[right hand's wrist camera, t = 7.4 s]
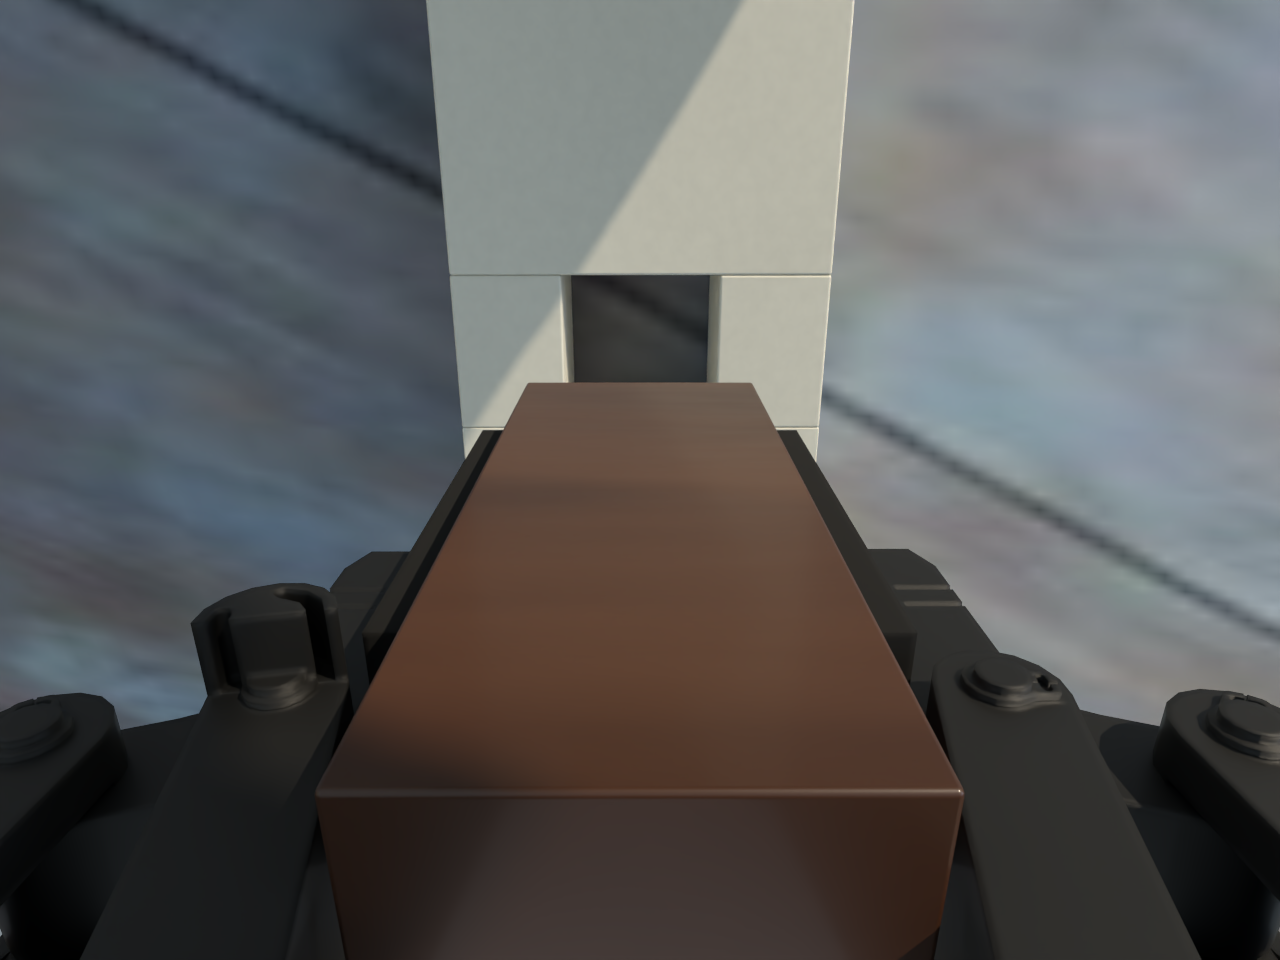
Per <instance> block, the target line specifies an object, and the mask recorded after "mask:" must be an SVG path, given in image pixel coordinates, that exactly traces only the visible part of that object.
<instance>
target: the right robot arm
mask: <svg viewBox="0 0 1280 960" xmlns="http://www.w3.org/2000/svg"><path fill="white" fill-rule="evenodd" d="M502 431H503V430H483V431H482V432H481V434H480V436H479V437H478V439H477V441H476V442H475V444H474V446H473V447H472V449H471V451H470V452H469V454H468V456H467V457H466V459H465V461H464V462H463V464H462V466H461V467H460V469H459V471H458V472H457V474H456V476H455V477H454V479H453V481H452V483H451V484H450V486H449V488H448V489H447V491H446V493H445V494H444V496H443V498H442V499H441V501H440V503H439V504H438V506H437V508H436V509H435V511H434V513H433V514H432V516H431V518H430V519H429V521H428V523H427V524H426V526H425V528H424V529H423V531H422V533H421V534H420V536H419V538H418V540H417V541H416V543H415V545H414V546H413V548H412V550H411V551H410V552H370V553H369V554H367V555H366V556H364V557H363V558H361V559H359V560H358V561H356V562H355V563H353V564H351V565H350V566H348V567H347V568H345V569H344V570H343V572H342V573H341V574H340V576H339V577H338V579H337V580H336V581H335V583H334V584H333V585H332V587H331V588H330V592H329V591H328V590H326V589H325V588H323V587H318V586H314V585H310V584H306V583H279V584H273V585H267V586H261V587H255V588H251V589H248V590H245V591H242V592H239V593H236V594H233V595H230V596H227V597H225V598H223V599H222V600H220V601H218V602H216V603H214V604H213V605H211V606H209V607H207V608H205V609H204V610H203V611H202V612H201V613H200V614H199V615H198V616H197V617H196V618H195V619H194V620H193V621H192V622H191V627H192V631H193V636H194V640H195V644H196V648H197V653H198V657H199V661H200V665H201V670H202V674H203V678H204V682H205V687H206V691H207V695H208V696H207V698H206V701H205V703H204V705H203V707H202V709H201V711H200V713H199V714H195V715H191V716H187V717H183V718H179V719H174V720H169V721H164V722H159V723H154V724H149V725H144V726H139V727H133V728H128V729H123V730H120V726H119V723H118V719H117V716H116V713H115V709H114V706H113V705H112V704H110V703H109V702H108V701H107V700H106V699H104V698H103V697H102V696H96V695H90V694H85V693H72V694H61V695H49V696H44V697H38V698H37V699H36V700H33V699H31V700H27V701H24V702H21V703H18V704H16V705H14V706H12V707H11V708H9V709H7V710H4V711H2V712H0V929H1V932H2V935H1V936H0V960H345V956H344V950H343V945H342V940H341V934H340V929H339V924H338V918H337V913H336V907H335V902H334V897H333V891H332V886H331V881H330V875H329V870H328V865H327V859H326V854H325V849H324V843H323V838H322V833H321V827H320V822H319V817H318V811H317V806H316V801H315V791H316V788H317V786H318V784H319V782H320V780H321V778H322V776H323V774H324V772H325V770H326V769H327V767H328V765H329V763H330V761H331V759H332V757H333V755H334V753H335V751H336V749H337V747H338V746H339V744H340V742H341V740H342V738H343V736H344V734H345V732H346V730H347V728H348V726H349V724H350V723H351V721H352V719H353V717H354V715H355V713H356V711H357V709H358V707H359V705H360V703H361V701H362V700H363V698H364V696H365V694H366V692H367V690H368V688H369V686H370V684H371V682H372V680H373V678H374V677H375V675H376V673H377V671H378V669H379V667H380V665H381V663H382V661H383V659H384V657H385V655H386V654H387V652H388V650H389V648H390V646H391V644H392V642H393V640H394V638H395V636H396V634H397V632H398V631H399V629H400V627H401V625H402V623H403V621H404V619H405V617H406V615H407V613H408V611H409V609H410V608H411V606H412V604H413V602H414V600H415V598H416V596H417V594H418V592H419V590H420V588H421V586H422V585H423V583H424V581H425V579H426V577H427V575H428V573H429V571H430V569H431V567H432V565H433V563H434V562H435V560H436V558H437V556H438V554H439V552H440V550H441V548H442V546H443V544H444V542H445V540H446V539H447V537H448V535H449V533H450V531H451V529H452V527H453V525H454V523H455V521H456V519H457V517H458V515H459V514H460V512H461V510H462V508H463V506H464V504H465V502H466V500H467V498H468V496H469V494H470V492H471V491H472V489H473V487H474V485H475V483H476V481H477V479H478V477H479V475H480V473H481V471H482V469H483V468H484V466H485V464H486V462H487V460H488V458H489V456H490V454H491V452H492V450H493V448H494V446H495V445H496V443H497V441H498V439H499V437H500V435H501V433H502ZM777 432H778V434H779V436H780V438H781V440H782V442H783V444H784V445H785V447H786V449H787V451H788V453H789V455H790V457H791V459H792V461H793V463H794V465H795V467H796V468H797V470H798V472H799V474H800V476H801V478H802V480H803V482H804V484H805V486H806V488H807V490H808V492H809V493H810V495H811V497H812V499H813V501H814V503H815V505H816V507H817V509H818V511H819V513H820V515H821V517H822V518H823V520H824V522H825V524H826V526H827V528H828V530H829V532H830V534H831V536H832V538H833V540H834V541H835V543H836V545H837V547H838V549H839V551H840V553H841V555H842V557H843V559H844V561H845V563H846V565H847V566H848V568H849V570H850V572H851V574H852V576H853V578H854V580H855V582H856V584H857V586H858V588H859V589H860V591H861V593H862V595H863V597H864V599H865V601H866V603H867V605H868V607H869V609H870V611H871V613H872V614H873V616H874V618H875V620H876V622H877V624H878V626H879V628H880V630H881V632H882V634H883V636H884V637H885V639H886V641H887V643H888V645H889V647H890V649H891V651H892V653H893V655H894V657H895V659H896V661H897V662H898V664H899V666H900V668H901V670H902V672H903V674H904V676H905V678H906V680H907V682H908V684H909V685H910V687H911V689H912V691H913V693H914V695H915V697H916V699H917V701H918V703H919V705H920V707H921V709H922V710H923V712H924V714H925V716H926V718H927V720H928V722H929V724H930V726H931V728H932V730H933V732H934V734H935V735H936V737H937V739H938V741H939V743H940V745H941V747H942V749H943V751H944V753H945V755H946V757H947V758H948V760H949V762H950V764H951V766H952V768H953V770H954V772H955V774H956V776H957V778H958V780H959V782H960V783H961V785H962V787H963V790H964V802H963V807H962V813H961V818H960V823H959V829H958V834H957V839H956V845H955V850H954V855H953V861H952V866H951V871H950V877H949V882H948V887H947V893H946V898H945V903H944V909H943V914H942V919H941V925H940V930H939V935H938V941H937V946H936V952H935V957H934V960H1280V932H1279V931H1278V930H1279V927H1280V708H1278V707H1276V706H1274V705H1271V704H1270V703H1268V702H1267V701H1265V700H1262V699H1259V698H1256V697H1253V696H1249V695H1247V696H1244V695H1243V694H1242V693H1236V692H1231V691H1217V690H1206V689H1197V690H1191V691H1185V692H1180V693H1178V694H1176V695H1175V696H1174V697H1173V698H1171V699H1170V700H1169V701H1168V702H1167V703H1166V707H1165V710H1164V714H1163V717H1162V721H1161V724H1160V726H1155V725H1150V724H1145V723H1139V722H1134V721H1129V720H1124V719H1119V718H1114V717H1109V716H1103V715H1099V714H1095V713H1091V712H1087V711H1083V710H1080V709H1079V707H1078V705H1077V703H1076V701H1075V699H1074V697H1073V695H1072V694H1071V693H1070V691H1069V690H1068V689H1067V688H1066V686H1065V685H1064V684H1063V683H1062V681H1061V680H1060V679H1058V678H1057V677H1055V676H1054V675H1052V674H1051V673H1049V672H1048V671H1046V670H1045V669H1043V668H1042V667H1040V666H1039V665H1036V664H1034V663H1031V662H1029V661H1026V660H1024V659H1021V658H1019V657H1016V656H1013V655H1008V654H1003V653H999V652H998V650H997V649H996V648H995V646H994V645H993V643H992V642H991V641H990V639H989V638H988V637H987V635H986V634H985V633H984V631H983V630H982V629H981V627H980V626H979V625H978V623H977V622H976V621H975V619H974V618H973V616H972V615H971V614H970V612H969V611H968V610H967V608H966V607H965V606H962V602H961V600H960V599H959V598H958V596H957V595H956V593H955V592H954V591H953V590H950V585H949V584H948V583H947V581H946V580H945V579H944V577H943V576H942V575H941V573H940V572H939V571H938V569H937V568H936V566H934V565H933V564H931V563H930V562H928V561H926V560H925V559H923V558H922V557H920V556H918V555H917V554H915V553H914V552H912V551H910V550H909V549H867V547H866V545H865V544H864V542H863V540H862V539H861V537H860V535H859V534H858V532H857V530H856V529H855V527H854V525H853V524H852V522H851V520H850V519H849V517H848V515H847V514H846V512H845V510H844V509H843V507H842V505H841V504H840V502H839V500H838V499H837V497H836V495H835V494H834V492H833V490H832V488H831V487H830V485H829V483H828V482H827V480H826V478H825V477H824V475H823V473H822V472H821V470H820V468H819V467H818V465H817V463H816V462H815V460H814V458H813V457H812V455H811V453H810V452H809V450H808V448H807V447H806V445H805V443H804V442H803V440H802V438H801V437H800V435H799V433H798V431H797V430H777Z"/></svg>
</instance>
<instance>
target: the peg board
mask: <svg viewBox="0 0 1280 960" xmlns="http://www.w3.org/2000/svg"><path fill="white" fill-rule="evenodd" d="M426 6H427V18H428V30H429V41H430V53H431V65H432V77H433V88H434V100H435V112H436V124H437V135H438V147H439V159H440V171H441V182H442V194H443V206H444V218H445V229H446V241H447V253H448V265H449V273H450V275H451V276H450V289H451V301H452V313H453V324H454V336H455V348H456V360H457V371H458V383H459V395H460V406H461V418H462V426H463V428H462V432H463V443H464V455H465V459H466V457H467V456H468V454H469V452H470V451H471V449H472V447H473V446H474V444H475V442H476V441H477V439H478V437H479V436H480V434H481V432H482V431H483V430H503V429H504V427H505V425H506V423H507V422H508V420H509V418H510V416H511V414H512V412H513V410H514V408H515V406H516V404H517V402H518V400H519V399H520V397H521V395H522V393H523V391H524V389H525V387H526V385H527V383H575V380H574V349H573V317H572V285H571V275H710V284H709V317H708V351H707V383H752V384H753V386H754V388H755V390H756V392H757V394H758V396H759V397H760V399H761V401H762V403H763V405H764V407H765V409H766V411H767V413H768V415H769V417H770V419H771V420H772V422H773V424H774V426H775V428H776V430H797V431H798V433H799V435H800V437H801V438H802V440H803V442H804V443H805V445H806V447H807V448H808V450H809V452H810V453H811V455H812V457H813V458H814V460H815V462H816V456H817V444H818V432H819V428H818V425H819V418H820V406H821V394H822V382H823V370H824V358H825V346H826V334H827V322H828V310H829V298H830V286H831V276H830V274H831V273H832V263H833V251H834V239H835V227H836V215H837V203H838V191H839V179H840V167H841V155H842V143H843V131H844V119H845V107H846V95H847V83H848V72H849V60H850V48H851V36H852V24H853V12H854V0H426Z"/></svg>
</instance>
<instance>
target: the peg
mask: <svg viewBox="0 0 1280 960" xmlns="http://www.w3.org/2000/svg"><path fill="white" fill-rule="evenodd" d="M315 801H316V806H317V811H318V817H319V822H320V827H321V833H322V838H323V843H324V849H325V854H326V859H327V865H328V870H329V875H330V881H331V886H332V891H333V897H334V902H335V907H336V913H337V918H338V924H339V929H340V934H341V940H342V945H343V950H344V956H345V960H934V957H935V952H936V946H937V941H938V935H939V930H940V925H941V919H942V914H943V909H944V903H945V898H946V893H947V887H948V882H949V877H950V871H951V866H952V861H953V855H954V850H955V845H956V839H957V834H958V829H959V823H960V818H961V813H962V807H963V802H964V790H963V787H962V785H961V783H960V782H959V780H958V778H957V776H956V774H955V772H954V770H953V768H952V766H951V764H950V762H949V760H948V758H947V757H946V755H945V753H944V751H943V749H942V747H941V745H940V743H939V741H938V739H937V737H936V735H935V734H934V732H933V730H932V728H931V726H930V724H929V722H928V720H927V718H926V716H925V714H924V712H923V710H922V709H921V707H920V705H919V703H918V701H917V699H916V697H915V695H914V693H913V691H912V689H911V687H910V685H909V684H908V682H907V680H906V678H905V676H904V674H903V672H902V670H901V668H900V666H899V664H898V662H897V661H896V659H895V657H894V655H893V653H892V651H891V649H890V647H889V645H888V643H887V641H886V639H885V637H884V636H883V634H882V632H881V630H880V628H879V626H878V624H877V622H876V620H875V618H874V616H873V614H872V613H871V611H870V609H869V607H868V605H867V603H866V601H865V599H864V597H863V595H862V593H861V591H860V589H859V588H858V586H857V584H856V582H855V580H854V578H853V576H852V574H851V572H850V570H849V568H848V566H847V565H846V563H845V561H844V559H843V557H842V555H841V553H840V551H839V549H838V547H837V545H836V543H835V541H834V540H833V538H832V536H831V534H830V532H829V530H828V528H827V526H826V524H825V522H824V520H823V518H822V517H821V515H820V513H819V511H818V509H817V507H816V505H815V503H814V501H813V499H812V497H811V495H810V493H809V492H808V490H807V488H806V486H805V484H804V482H803V480H802V478H801V476H800V474H799V472H798V470H797V468H796V467H795V465H794V463H793V461H792V459H791V457H790V455H789V453H788V451H787V449H786V447H785V445H784V444H783V442H782V440H781V438H780V436H779V434H778V432H777V430H776V428H775V426H774V424H773V422H772V420H771V419H770V417H769V415H768V413H767V411H766V409H765V407H764V405H763V403H762V401H761V399H760V397H759V396H758V394H757V392H756V390H755V388H754V386H753V384H752V383H527V385H526V387H525V389H524V391H523V393H522V395H521V397H520V399H519V400H518V402H517V404H516V406H515V408H514V410H513V412H512V414H511V416H510V418H509V420H508V422H507V423H506V425H505V427H504V429H503V431H502V433H501V435H500V437H499V439H498V441H497V443H496V445H495V446H494V448H493V450H492V452H491V454H490V456H489V458H488V460H487V462H486V464H485V466H484V468H483V469H482V471H481V473H480V475H479V477H478V479H477V481H476V483H475V485H474V487H473V489H472V491H471V492H470V494H469V496H468V498H467V500H466V502H465V504H464V506H463V508H462V510H461V512H460V514H459V515H458V517H457V519H456V521H455V523H454V525H453V527H452V529H451V531H450V533H449V535H448V537H447V539H446V540H445V542H444V544H443V546H442V548H441V550H440V552H439V554H438V556H437V558H436V560H435V562H434V563H433V565H432V567H431V569H430V571H429V573H428V575H427V577H426V579H425V581H424V583H423V585H422V586H421V588H420V590H419V592H418V594H417V596H416V598H415V600H414V602H413V604H412V606H411V608H410V609H409V611H408V613H407V615H406V617H405V619H404V621H403V623H402V625H401V627H400V629H399V631H398V632H397V634H396V636H395V638H394V640H393V642H392V644H391V646H390V648H389V650H388V652H387V654H386V655H385V657H384V659H383V661H382V663H381V665H380V667H379V669H378V671H377V673H376V675H375V677H374V678H373V680H372V682H371V684H370V686H369V688H368V690H367V692H366V694H365V696H364V698H363V700H362V701H361V703H360V705H359V707H358V709H357V711H356V713H355V715H354V717H353V719H352V721H351V723H350V724H349V726H348V728H347V730H346V732H345V734H344V736H343V738H342V740H341V742H340V744H339V746H338V747H337V749H336V751H335V753H334V755H333V757H332V759H331V761H330V763H329V765H328V767H327V769H326V770H325V772H324V774H323V776H322V778H321V780H320V782H319V784H318V786H317V788H316V791H315Z"/></svg>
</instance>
